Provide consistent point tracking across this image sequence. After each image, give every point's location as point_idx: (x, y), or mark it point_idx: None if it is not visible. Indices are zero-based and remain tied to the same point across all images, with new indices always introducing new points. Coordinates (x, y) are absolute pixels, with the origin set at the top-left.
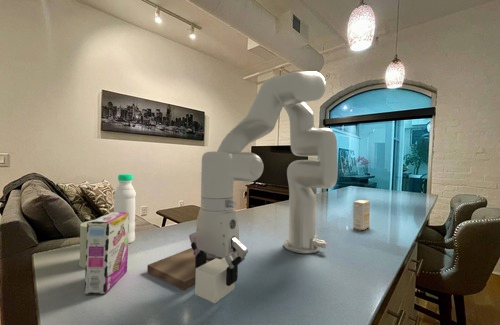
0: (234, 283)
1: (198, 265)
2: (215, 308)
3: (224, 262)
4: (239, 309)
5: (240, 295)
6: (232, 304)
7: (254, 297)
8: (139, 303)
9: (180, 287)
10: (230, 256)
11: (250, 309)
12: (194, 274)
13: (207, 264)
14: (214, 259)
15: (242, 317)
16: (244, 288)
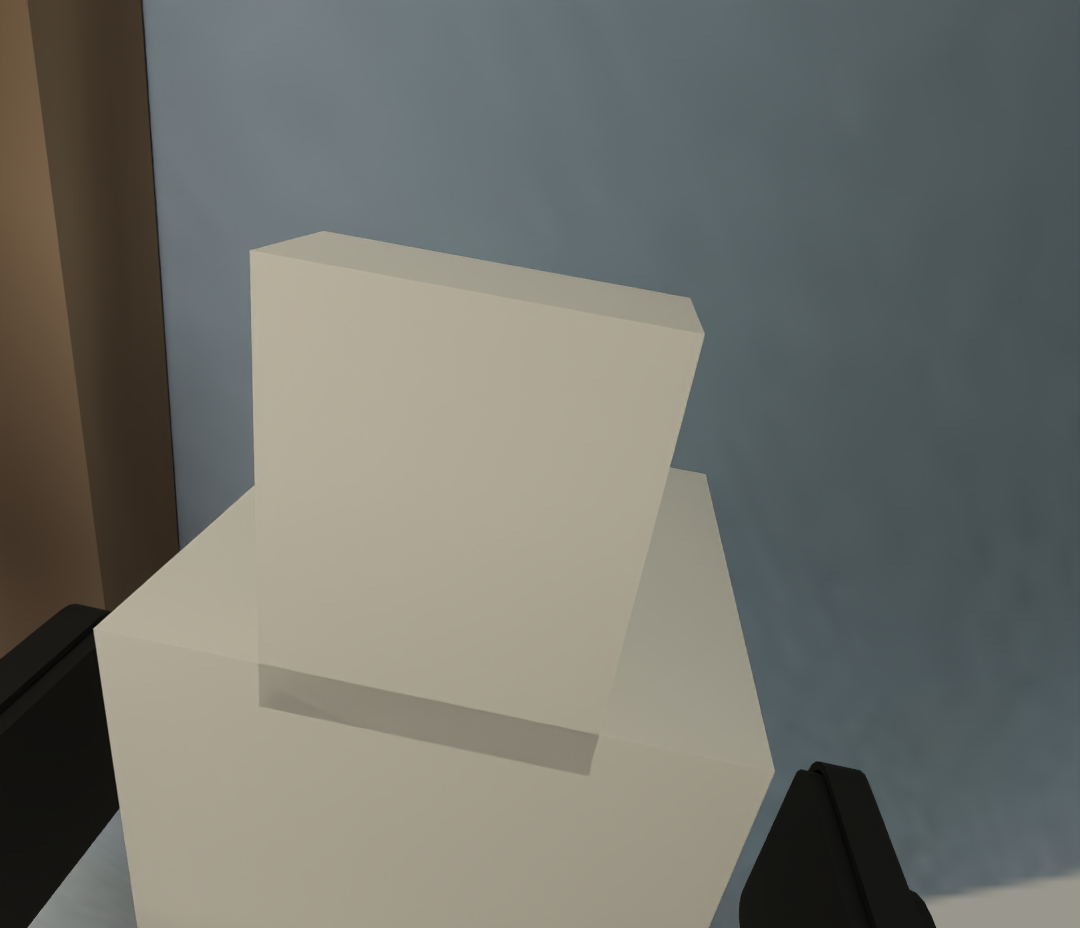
0: (713, 513)
1: (53, 876)
2: None
3: (454, 763)
4: (915, 785)
5: (848, 578)
6: (809, 743)
7: (1064, 553)
8: (67, 919)
9: None
10: (358, 338)
11: (1045, 756)
12: (53, 604)
13: (198, 923)
14: (121, 704)
15: (980, 862)
16: (854, 406)
